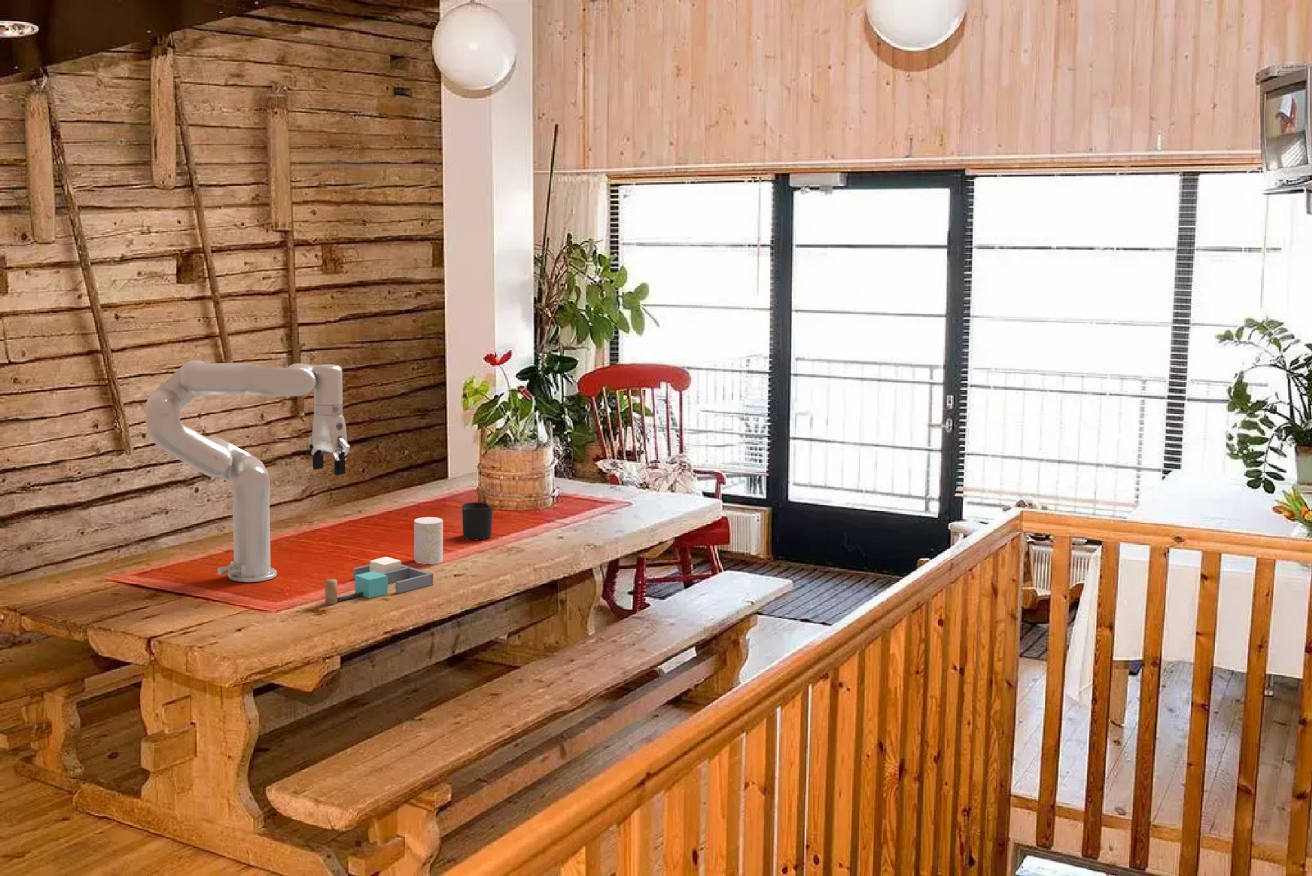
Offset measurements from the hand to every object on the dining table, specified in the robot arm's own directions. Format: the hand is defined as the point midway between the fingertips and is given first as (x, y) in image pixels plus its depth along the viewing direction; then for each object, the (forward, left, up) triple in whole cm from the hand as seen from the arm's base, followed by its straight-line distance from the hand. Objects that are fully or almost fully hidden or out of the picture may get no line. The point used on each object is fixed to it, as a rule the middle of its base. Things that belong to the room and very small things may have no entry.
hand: (328, 471), depth 357 cm
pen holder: (+56, +1, -29) cm, 63 cm away
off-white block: (+7, -15, -28) cm, 33 cm away
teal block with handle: (-10, -25, -28) cm, 39 cm away
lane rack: (+6, -20, -28) cm, 35 cm away
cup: (+27, -10, -28) cm, 41 cm away
